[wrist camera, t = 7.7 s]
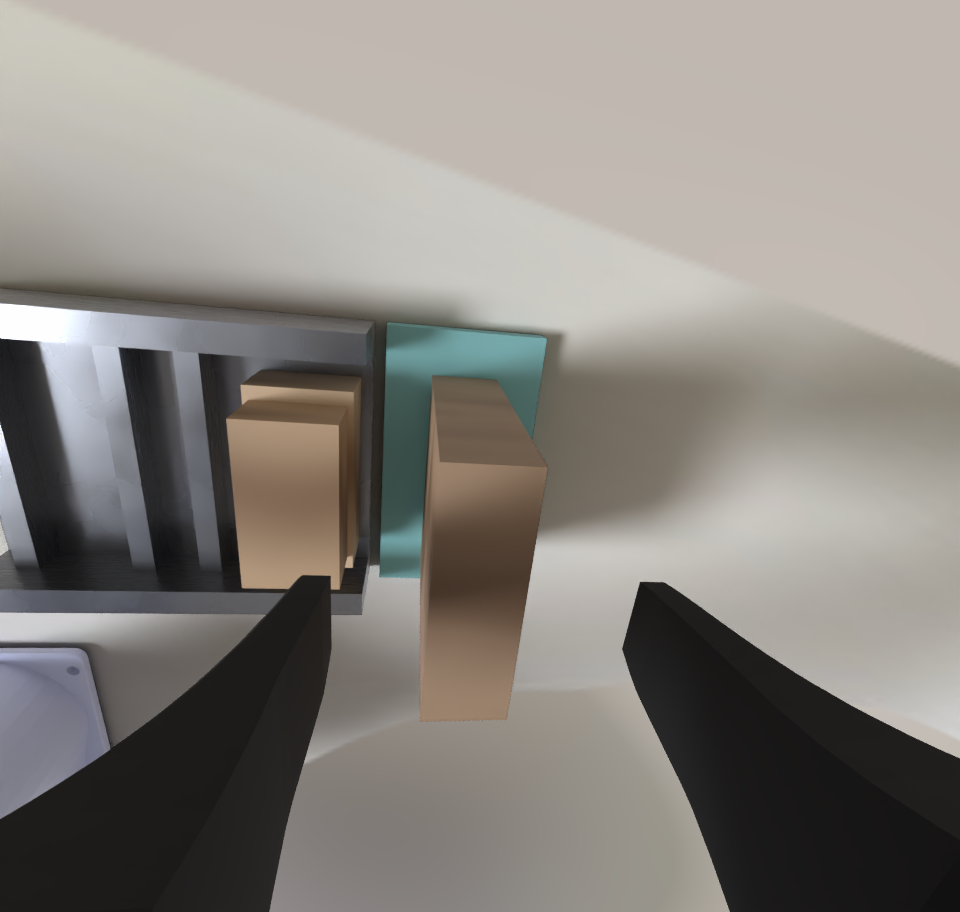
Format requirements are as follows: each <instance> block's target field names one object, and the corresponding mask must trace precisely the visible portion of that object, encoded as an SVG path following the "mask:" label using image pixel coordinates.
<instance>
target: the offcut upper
mask: <svg viewBox="0 0 960 912" xmlns="http://www.w3.org/2000/svg"><path fill="white" fill-rule="evenodd" d="M226 422H227V433H228V444H229V454H230V465H231V476H232V487H233V497H234V508H235V519H236V530H237V540H238V551H239V562H240V573H241V583H242V588H266V589H289V588H290V587H291V586H292V585H293V583H294V582H295V581H296V580H297V579H298V578H299V577H300V576H302V575H324V576H331V589H339V590H340V586H341V581H342V577H343V573H344V569H345V565H346V561H347V502H348V406H335V405H320V404H304V403H288V402H272V401H256V400H247V401H246V402H245V403H244V404H243V405H242V406H240V407H239V408H238V409H237V410H236V411H235V412H233V413H232V414H231V415H230V416H229V417H228V418H226Z"/></svg>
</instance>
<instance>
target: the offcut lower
mask: <svg viewBox="0 0 960 912" xmlns="http://www.w3.org/2000/svg"><path fill="white" fill-rule="evenodd" d="M240 386H241V398H242V405H243V404H244V403H245V402H246V401H247V400H256V401H272V402H288V403H304V404H320V405H335V406H348V502H347V561H346V565H345V568H353V564H354V560H355V555H356V550H357V546H358V541H359V511H360V424H361V377H353V376H339V375H325V374H311V373H297V372H283V371H269V370H260V371H258V372H257V373H256V374H254V375H253V376H252V377H250V378H249V379H247V380H246V381H245V382H243V383H242V384H241V385H240Z"/></svg>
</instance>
